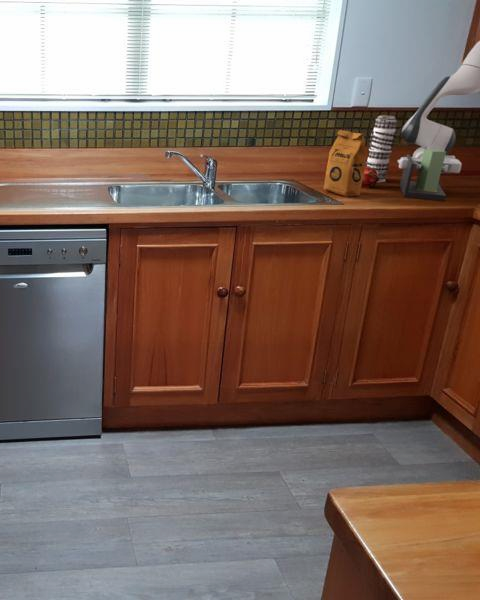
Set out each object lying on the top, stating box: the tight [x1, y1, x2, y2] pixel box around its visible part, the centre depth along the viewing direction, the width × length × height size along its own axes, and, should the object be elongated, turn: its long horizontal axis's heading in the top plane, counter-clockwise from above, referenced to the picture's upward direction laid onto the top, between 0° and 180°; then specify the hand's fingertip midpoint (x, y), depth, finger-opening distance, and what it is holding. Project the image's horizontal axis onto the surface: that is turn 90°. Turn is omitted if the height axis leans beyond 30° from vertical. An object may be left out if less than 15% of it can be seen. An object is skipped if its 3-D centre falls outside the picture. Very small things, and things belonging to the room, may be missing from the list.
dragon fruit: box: [361, 165, 380, 189], centre depth 234 cm, size 8×8×12 cm
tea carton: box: [415, 149, 446, 191], centre depth 219 cm, size 5×5×14 cm
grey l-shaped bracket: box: [399, 154, 447, 202], centre depth 223 cm, size 13×22×12 cm, turn 158°
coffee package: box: [322, 129, 367, 198], centre depth 218 cm, size 10×12×22 cm
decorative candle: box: [365, 114, 398, 183], centre depth 242 cm, size 9×9×25 cm
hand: (431, 168), depth 218 cm, fingers closed on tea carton, 6 cm apart
